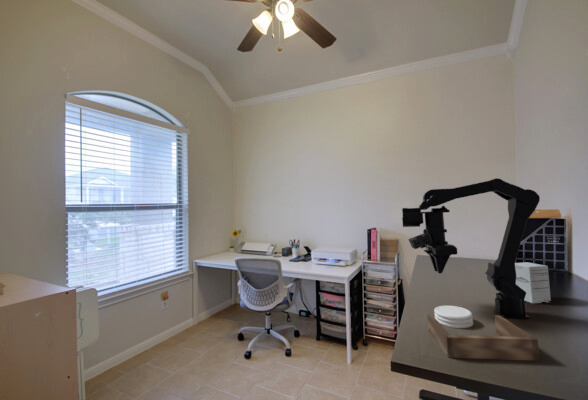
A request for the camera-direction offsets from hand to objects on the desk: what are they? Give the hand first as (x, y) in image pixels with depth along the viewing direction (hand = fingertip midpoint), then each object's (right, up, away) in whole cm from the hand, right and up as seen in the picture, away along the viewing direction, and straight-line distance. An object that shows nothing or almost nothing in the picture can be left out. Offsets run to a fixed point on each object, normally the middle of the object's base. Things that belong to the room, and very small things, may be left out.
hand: (438, 272), depth 92 cm
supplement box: (+36, -11, +5) cm, 38 cm away
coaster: (-1, -13, -11) cm, 16 cm away
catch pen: (-3, -11, -24) cm, 27 cm away
